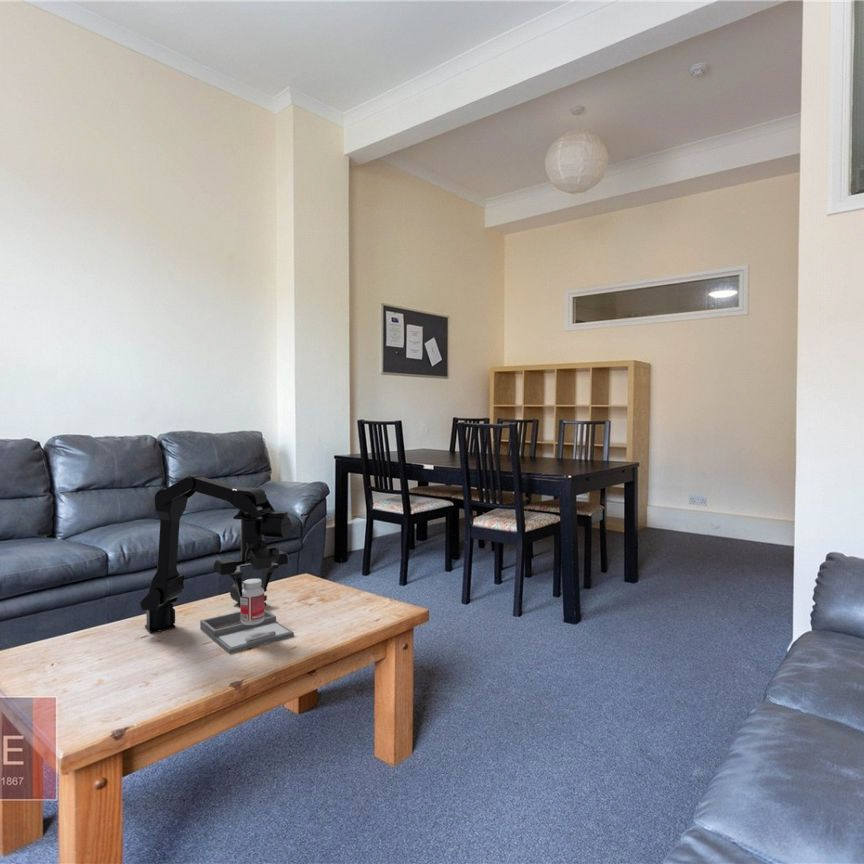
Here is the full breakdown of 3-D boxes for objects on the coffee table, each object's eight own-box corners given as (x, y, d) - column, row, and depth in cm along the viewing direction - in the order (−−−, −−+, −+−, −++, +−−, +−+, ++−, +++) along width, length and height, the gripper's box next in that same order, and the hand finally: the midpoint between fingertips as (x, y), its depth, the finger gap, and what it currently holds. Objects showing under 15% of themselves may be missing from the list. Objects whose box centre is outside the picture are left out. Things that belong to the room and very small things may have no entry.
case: (213, 640, 150) (213, 628, 150) (200, 629, 158) (200, 617, 158) (276, 624, 161) (276, 613, 161) (260, 615, 169) (260, 604, 169)
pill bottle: (266, 617, 155) (266, 577, 155) (261, 625, 149) (261, 584, 149) (243, 617, 155) (243, 577, 155) (237, 625, 149) (237, 584, 148)
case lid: (229, 653, 142) (229, 648, 142) (213, 640, 150) (213, 636, 150) (293, 636, 153) (293, 631, 153) (276, 624, 161) (276, 620, 161)
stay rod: (246, 642, 145) (246, 639, 145) (244, 641, 146) (244, 637, 146) (275, 635, 151) (275, 631, 151) (274, 634, 151) (274, 630, 151)
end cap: (229, 604, 179) (229, 583, 179) (249, 599, 185) (249, 578, 185) (248, 611, 173) (247, 589, 173) (267, 605, 179) (267, 584, 179)
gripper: (229, 546, 139) (229, 609, 140) (298, 536, 151) (298, 594, 152) (212, 538, 148) (213, 598, 148) (279, 529, 160) (279, 584, 160)
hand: (252, 593), depth 152 cm, fingers closed on pill bottle, 6 cm apart
